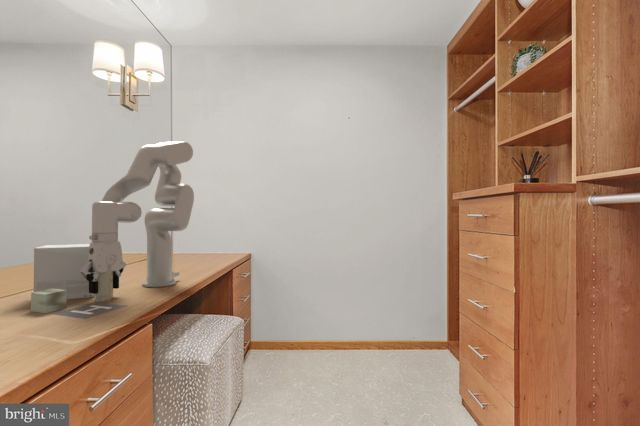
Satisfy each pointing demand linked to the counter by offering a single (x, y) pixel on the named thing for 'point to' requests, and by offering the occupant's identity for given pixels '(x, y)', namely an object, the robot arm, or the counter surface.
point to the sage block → (48, 300)
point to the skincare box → (105, 285)
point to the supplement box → (62, 269)
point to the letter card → (90, 310)
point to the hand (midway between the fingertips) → (104, 290)
